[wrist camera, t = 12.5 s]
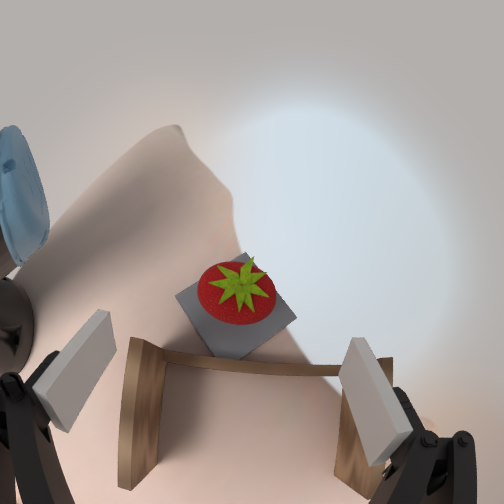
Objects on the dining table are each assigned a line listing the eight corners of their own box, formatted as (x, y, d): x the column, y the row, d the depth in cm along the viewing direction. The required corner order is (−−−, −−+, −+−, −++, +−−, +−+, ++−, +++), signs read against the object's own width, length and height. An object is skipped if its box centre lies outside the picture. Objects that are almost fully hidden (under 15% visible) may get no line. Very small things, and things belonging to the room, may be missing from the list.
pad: (175, 297, 31) (174, 295, 30) (245, 254, 34) (245, 252, 33) (224, 369, 28) (224, 369, 27) (296, 318, 31) (297, 317, 30)
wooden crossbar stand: (343, 473, 22) (378, 496, 14) (146, 462, 21) (117, 486, 13) (352, 365, 28) (393, 357, 20) (157, 349, 28) (130, 336, 20)
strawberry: (207, 276, 31) (202, 233, 22) (271, 290, 32) (291, 251, 23) (195, 325, 29) (183, 300, 20) (262, 339, 29) (282, 321, 20)
